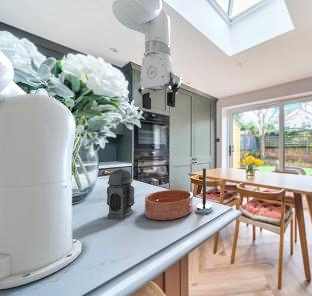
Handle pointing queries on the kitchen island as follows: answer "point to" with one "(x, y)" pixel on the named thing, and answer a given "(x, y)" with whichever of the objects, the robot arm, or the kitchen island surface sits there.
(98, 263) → the kitchen island surface
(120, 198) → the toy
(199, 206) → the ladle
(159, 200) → the bowl
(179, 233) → the kitchen island surface
